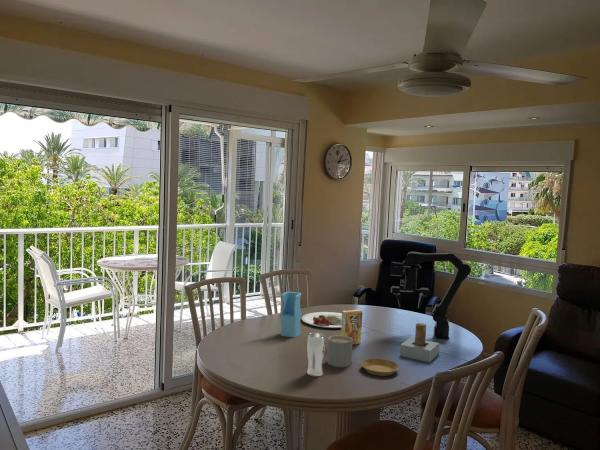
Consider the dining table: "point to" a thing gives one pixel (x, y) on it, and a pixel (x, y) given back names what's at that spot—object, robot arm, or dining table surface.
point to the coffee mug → (339, 351)
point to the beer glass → (315, 353)
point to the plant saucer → (379, 367)
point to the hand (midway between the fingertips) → (409, 307)
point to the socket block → (419, 350)
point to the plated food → (323, 319)
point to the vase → (291, 314)
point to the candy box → (352, 325)
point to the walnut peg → (420, 334)
